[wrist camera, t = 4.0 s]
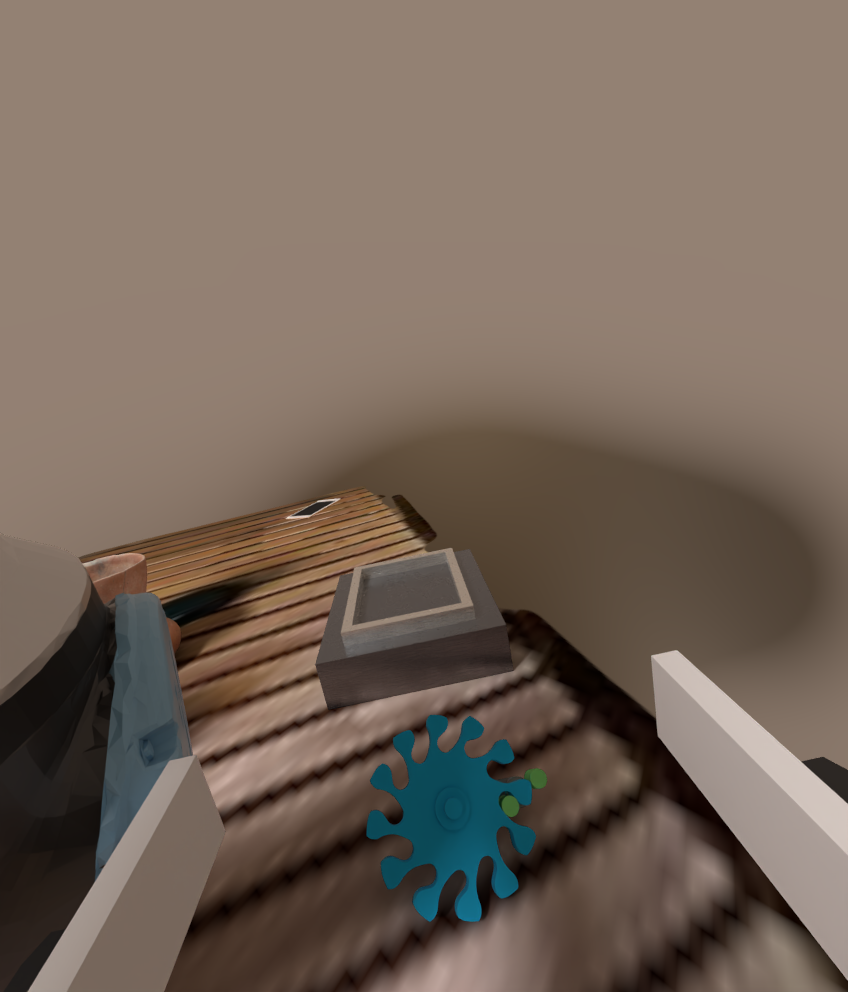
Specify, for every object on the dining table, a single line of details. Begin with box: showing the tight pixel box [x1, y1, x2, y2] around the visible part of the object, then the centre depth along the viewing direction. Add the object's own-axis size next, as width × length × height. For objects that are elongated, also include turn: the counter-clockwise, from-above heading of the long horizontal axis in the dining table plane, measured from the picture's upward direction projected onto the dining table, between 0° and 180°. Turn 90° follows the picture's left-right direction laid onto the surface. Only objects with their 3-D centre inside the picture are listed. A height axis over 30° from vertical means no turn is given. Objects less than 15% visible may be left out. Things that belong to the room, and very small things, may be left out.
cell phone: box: [286, 499, 341, 519], centre depth 124 cm, size 8×16×1 cm, turn 158°
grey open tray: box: [315, 548, 513, 710], centre depth 51 cm, size 18×20×6 cm
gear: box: [367, 715, 547, 922], centre depth 28 cm, size 11×6×10 cm
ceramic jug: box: [83, 553, 181, 654], centre depth 54 cm, size 18×14×14 cm
